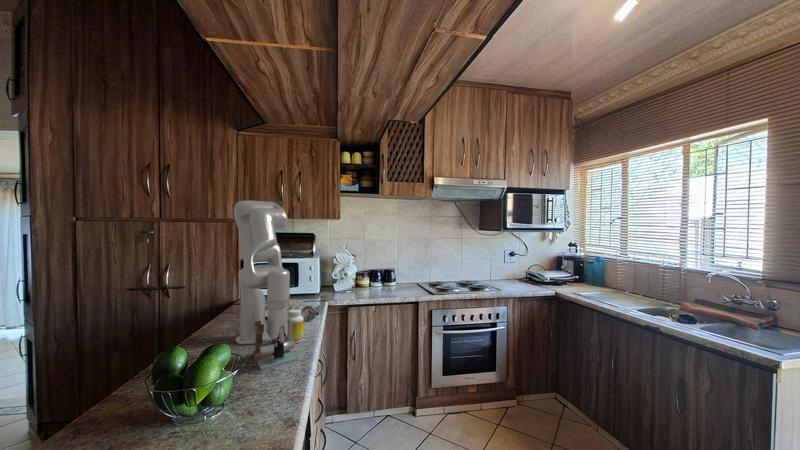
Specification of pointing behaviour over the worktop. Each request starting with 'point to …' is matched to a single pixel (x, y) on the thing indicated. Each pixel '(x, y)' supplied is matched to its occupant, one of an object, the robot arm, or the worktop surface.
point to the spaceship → (310, 312)
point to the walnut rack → (259, 340)
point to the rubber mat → (276, 361)
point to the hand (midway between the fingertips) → (277, 355)
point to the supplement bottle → (295, 326)
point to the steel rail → (270, 348)
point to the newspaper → (292, 306)
